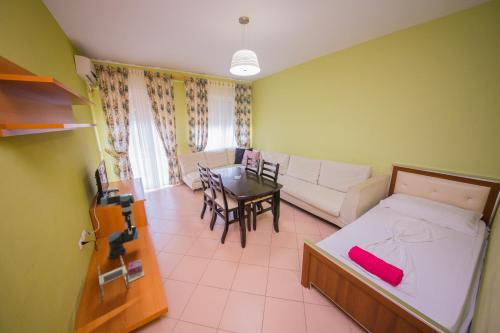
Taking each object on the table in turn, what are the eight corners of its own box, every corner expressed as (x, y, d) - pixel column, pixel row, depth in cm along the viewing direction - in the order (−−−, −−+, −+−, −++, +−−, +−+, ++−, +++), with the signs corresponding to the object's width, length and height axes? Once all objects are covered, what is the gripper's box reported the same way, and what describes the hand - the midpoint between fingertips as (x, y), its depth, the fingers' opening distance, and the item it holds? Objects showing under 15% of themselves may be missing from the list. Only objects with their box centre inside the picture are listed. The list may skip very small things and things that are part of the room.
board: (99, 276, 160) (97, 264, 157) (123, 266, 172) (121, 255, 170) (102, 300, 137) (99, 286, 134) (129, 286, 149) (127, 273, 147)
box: (128, 270, 159) (129, 262, 169) (129, 275, 160) (129, 268, 170) (141, 265, 165) (141, 258, 175) (142, 271, 165) (142, 264, 175)
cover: (98, 277, 143) (97, 272, 142) (125, 266, 154) (124, 261, 154) (99, 285, 135) (98, 280, 134) (127, 273, 147) (126, 268, 146)
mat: (127, 276, 160) (127, 276, 160) (142, 269, 168) (142, 269, 168) (129, 282, 153) (128, 282, 153) (144, 275, 161) (144, 274, 161)
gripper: (119, 207, 174) (122, 227, 178) (123, 216, 156) (126, 237, 160) (128, 205, 179) (131, 224, 183) (133, 213, 161) (136, 234, 165)
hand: (129, 231), depth 171 cm, fingers open, 13 cm apart
